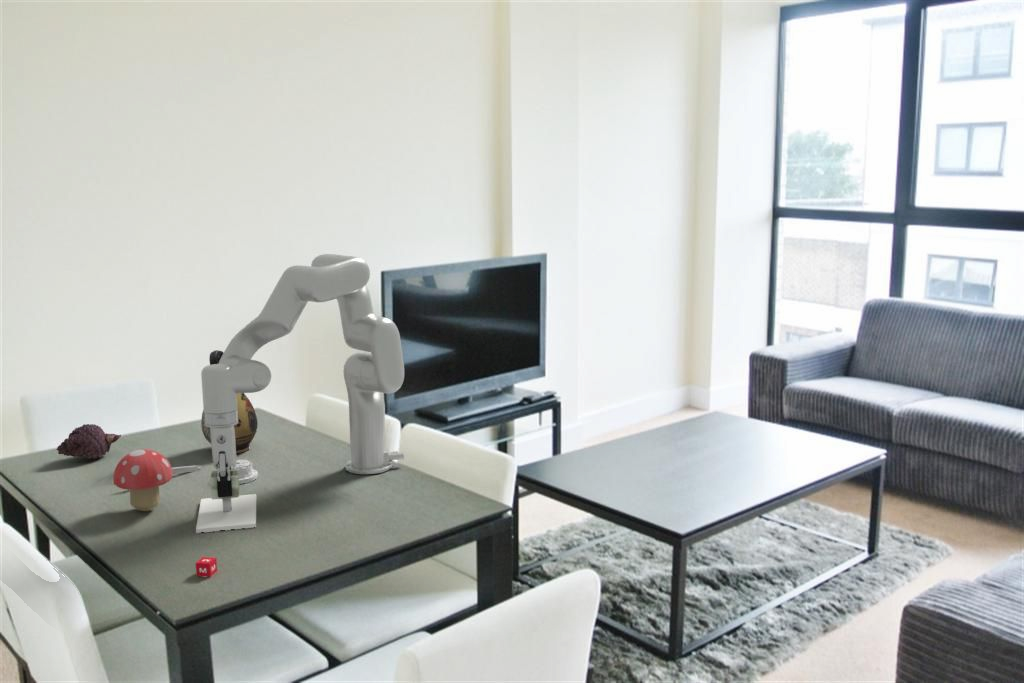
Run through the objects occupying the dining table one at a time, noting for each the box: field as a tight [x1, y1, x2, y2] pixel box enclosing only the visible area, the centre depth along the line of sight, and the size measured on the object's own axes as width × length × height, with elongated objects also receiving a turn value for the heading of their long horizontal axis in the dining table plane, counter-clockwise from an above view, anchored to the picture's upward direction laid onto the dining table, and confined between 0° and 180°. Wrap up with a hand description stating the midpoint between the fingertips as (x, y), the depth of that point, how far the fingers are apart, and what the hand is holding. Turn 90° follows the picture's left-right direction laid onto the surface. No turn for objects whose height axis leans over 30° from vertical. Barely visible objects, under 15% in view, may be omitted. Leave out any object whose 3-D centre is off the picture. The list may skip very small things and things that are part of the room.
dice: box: [195, 556, 218, 578], centre depth 195 cm, size 3×3×3 cm
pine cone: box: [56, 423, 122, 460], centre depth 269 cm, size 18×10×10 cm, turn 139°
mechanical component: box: [231, 459, 259, 485], centre depth 252 cm, size 10×4×10 cm
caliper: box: [172, 465, 203, 475], centre depth 252 cm, size 20×1×6 cm, turn 145°
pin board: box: [195, 493, 257, 534], centre depth 226 cm, size 13×20×6 cm, turn 14°
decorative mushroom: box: [112, 448, 174, 512], centre depth 228 cm, size 13×13×15 cm
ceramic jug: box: [200, 349, 259, 454], centre depth 273 cm, size 17×15×30 cm
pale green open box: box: [210, 469, 240, 500], centre depth 225 cm, size 6×6×5 cm
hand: (225, 491), depth 226 cm, fingers closed on pale green open box, 6 cm apart
